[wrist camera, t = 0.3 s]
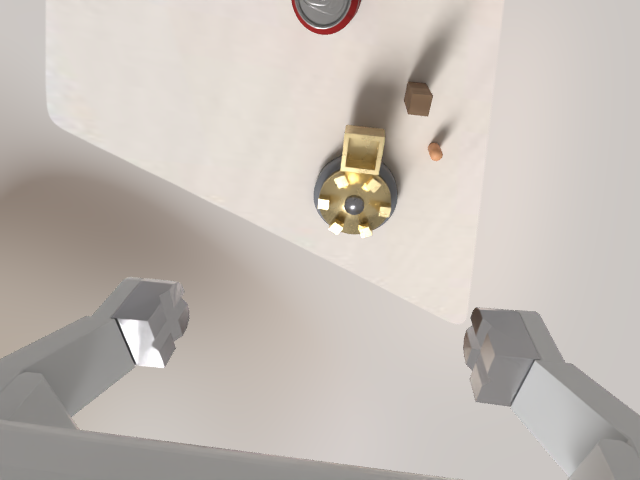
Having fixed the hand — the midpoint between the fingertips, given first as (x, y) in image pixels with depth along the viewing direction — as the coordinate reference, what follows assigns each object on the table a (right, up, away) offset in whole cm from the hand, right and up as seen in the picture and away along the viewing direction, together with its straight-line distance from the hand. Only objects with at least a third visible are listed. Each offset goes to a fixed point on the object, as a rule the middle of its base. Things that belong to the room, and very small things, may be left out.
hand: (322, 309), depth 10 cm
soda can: (+2, +32, +34) cm, 47 cm away
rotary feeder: (+6, +11, +45) cm, 46 cm away
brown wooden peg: (+13, +22, +39) cm, 47 cm away
